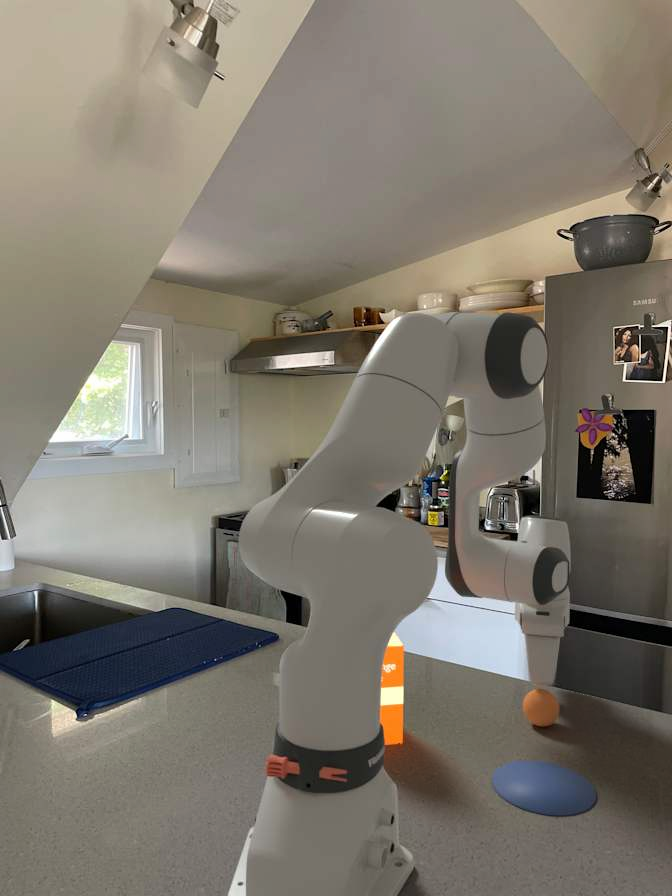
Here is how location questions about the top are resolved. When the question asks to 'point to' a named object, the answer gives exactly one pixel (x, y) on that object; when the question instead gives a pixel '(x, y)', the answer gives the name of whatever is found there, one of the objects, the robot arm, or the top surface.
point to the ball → (541, 707)
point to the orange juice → (392, 692)
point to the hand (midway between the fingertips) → (540, 691)
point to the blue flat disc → (544, 788)
